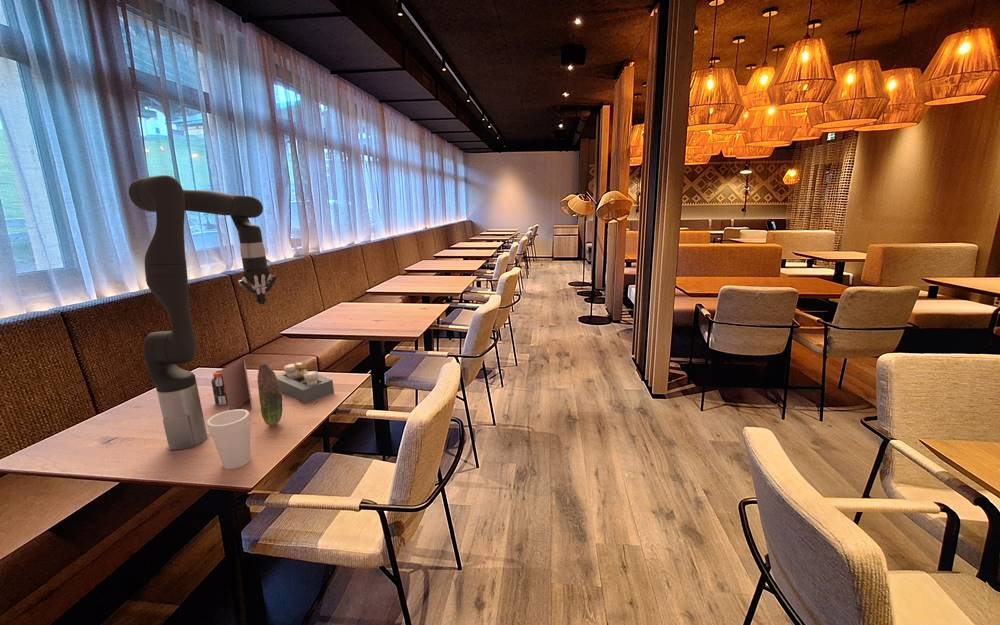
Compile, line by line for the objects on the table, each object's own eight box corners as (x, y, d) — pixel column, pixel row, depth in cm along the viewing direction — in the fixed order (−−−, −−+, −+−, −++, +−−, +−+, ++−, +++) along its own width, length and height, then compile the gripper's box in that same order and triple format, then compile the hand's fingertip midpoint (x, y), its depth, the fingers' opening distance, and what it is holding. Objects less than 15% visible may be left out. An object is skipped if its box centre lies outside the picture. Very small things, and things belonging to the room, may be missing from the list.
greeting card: (249, 397, 159) (241, 357, 156) (268, 397, 159) (261, 357, 155) (227, 412, 148) (218, 369, 145) (248, 412, 148) (240, 369, 144)
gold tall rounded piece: (309, 379, 163) (307, 362, 161) (300, 383, 160) (297, 365, 158) (304, 377, 165) (301, 360, 163) (294, 380, 162) (292, 363, 161)
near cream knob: (322, 391, 159) (320, 372, 158) (310, 396, 156) (308, 376, 154) (316, 388, 162) (313, 370, 160) (304, 393, 158) (301, 374, 157)
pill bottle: (228, 405, 153) (222, 374, 151) (211, 405, 154) (205, 374, 151) (238, 398, 159) (233, 368, 157) (222, 398, 159) (216, 368, 157)
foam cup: (263, 452, 123) (255, 408, 120) (246, 471, 114) (237, 425, 111) (228, 453, 122) (220, 410, 119) (208, 473, 113) (198, 426, 110)
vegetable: (262, 422, 140) (252, 362, 135) (284, 417, 143) (275, 358, 138) (264, 430, 135) (253, 368, 130) (287, 424, 138) (277, 363, 133)
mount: (334, 392, 161) (332, 379, 160) (305, 403, 152) (303, 390, 151) (302, 380, 174) (300, 367, 173) (274, 389, 166) (272, 376, 165)
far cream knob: (302, 383, 168) (299, 365, 166) (290, 387, 164) (287, 369, 162) (296, 380, 170) (293, 363, 169) (284, 384, 167) (281, 366, 165)
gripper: (237, 258, 149) (246, 308, 153) (277, 254, 159) (284, 301, 163) (228, 257, 153) (237, 306, 157) (267, 253, 163) (275, 299, 167)
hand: (261, 303), depth 160 cm, fingers closed
